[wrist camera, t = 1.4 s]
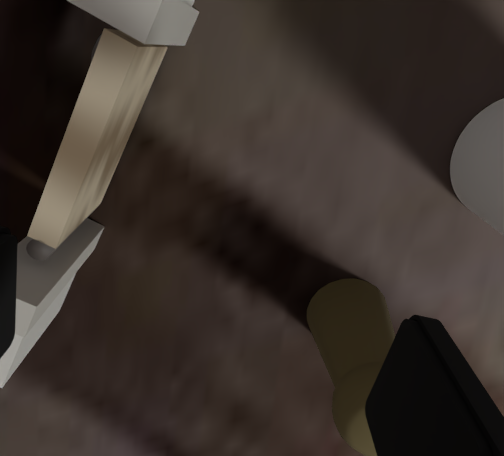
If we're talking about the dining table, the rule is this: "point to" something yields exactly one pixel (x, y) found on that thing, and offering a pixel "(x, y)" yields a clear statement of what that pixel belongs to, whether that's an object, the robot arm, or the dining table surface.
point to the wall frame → (88, 233)
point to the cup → (481, 165)
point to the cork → (351, 350)
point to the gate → (94, 137)
